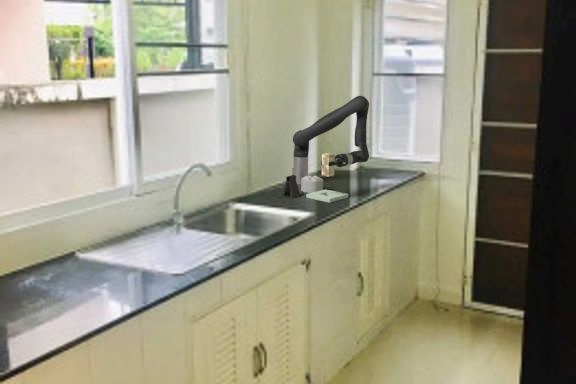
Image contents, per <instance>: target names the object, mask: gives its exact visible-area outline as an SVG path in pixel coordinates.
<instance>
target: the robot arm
mask: <svg viewBox="0 0 576 384" xmlns="http://www.w3.org/2000/svg"><path fill="white" fill-rule="evenodd" d="M369 109H370V101H369V100H368V98H366V97H365V96H363V95H357V96H355V97H353V98H352V99H351V100H349V101H348V102H347V103H345V104H344V105H342V106H340V107H338V108H336V109H334V110H333V111H330V112H329V113H327V114H325V115H324V116H322V117H320V118H319V119H318V120H316V121H315V122H314V123H313V124H311V125H310V126H309V127H308V126H307V127H306V128H304V129H300V130H298V131H296V132H295V133H294V134H293V136H292V143H293V144H294V146H293V147H294V149H293V163H292V164H293V167H292V168H291V175H295V176H296V182H297V185H298V186H299V185H300V186H301V179H302V178H303V177H305V176H309V151H310V141H312V140H313V139H314V138H316V137H318V136H320V135H323V134H325V133H327V132H330V131H332V130H333V129H335V128H337V127H338V126H339V125H341V124H342V123H343V122H344V121H345V120H346V119H347V118H348V117H350V116H352V115H354V114H355V113H356V122H355V123H356V124H355V129H354V130H355V131H354V146H355V147H358V148H360V150H353V151H351V152H350V151H349V152H344V153H338V154H336V155H335V156H334V162H329V164H328V166H334V167H337V168H343V167H347V166H350V165H354V164H356V163H366V162H368V160H369V159H370V152H369V149H368V145H367V126H368V123H367V122H368V121H367V120H368V114H369V113H368V112H369ZM320 165H321V166H322V160H321V161H320Z"/></svg>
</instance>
